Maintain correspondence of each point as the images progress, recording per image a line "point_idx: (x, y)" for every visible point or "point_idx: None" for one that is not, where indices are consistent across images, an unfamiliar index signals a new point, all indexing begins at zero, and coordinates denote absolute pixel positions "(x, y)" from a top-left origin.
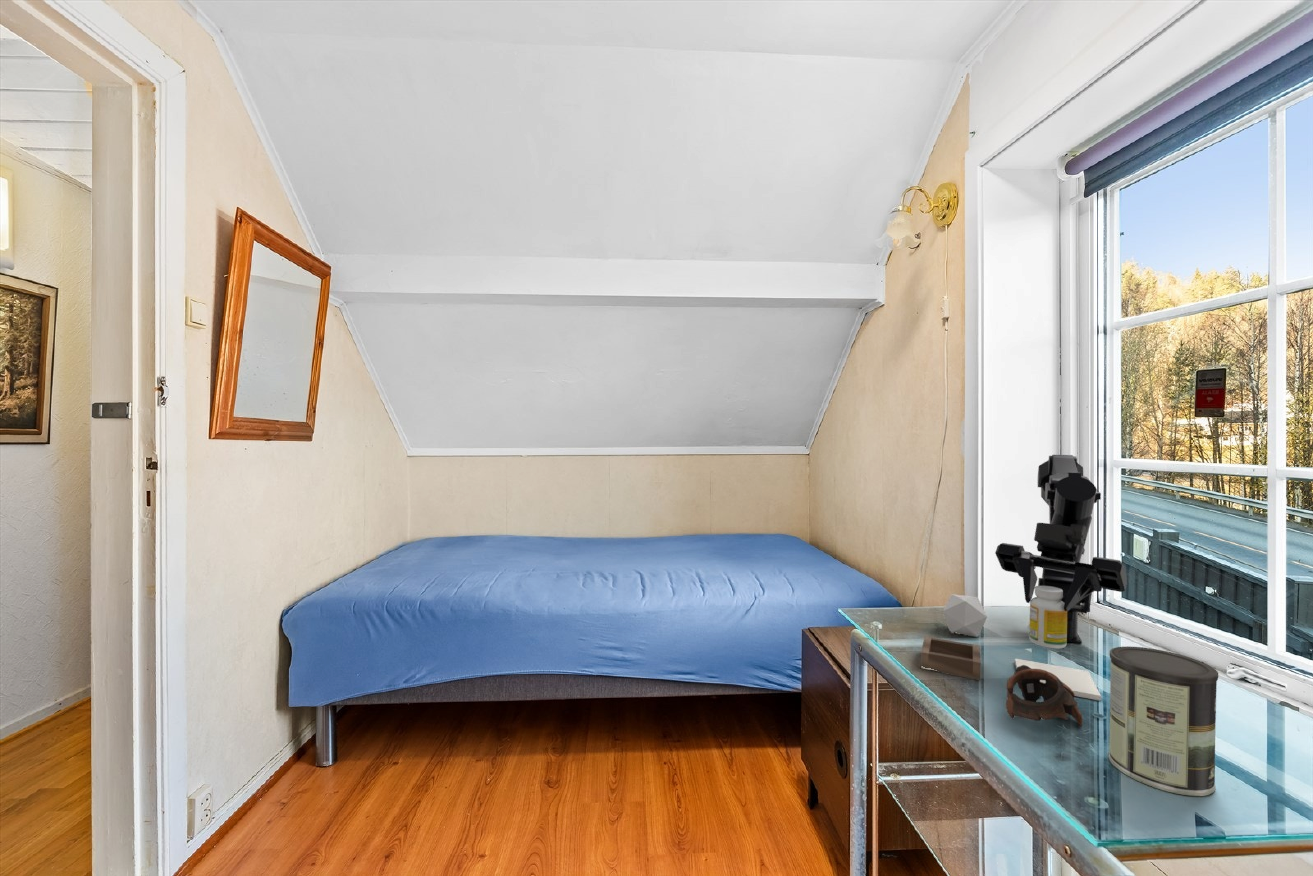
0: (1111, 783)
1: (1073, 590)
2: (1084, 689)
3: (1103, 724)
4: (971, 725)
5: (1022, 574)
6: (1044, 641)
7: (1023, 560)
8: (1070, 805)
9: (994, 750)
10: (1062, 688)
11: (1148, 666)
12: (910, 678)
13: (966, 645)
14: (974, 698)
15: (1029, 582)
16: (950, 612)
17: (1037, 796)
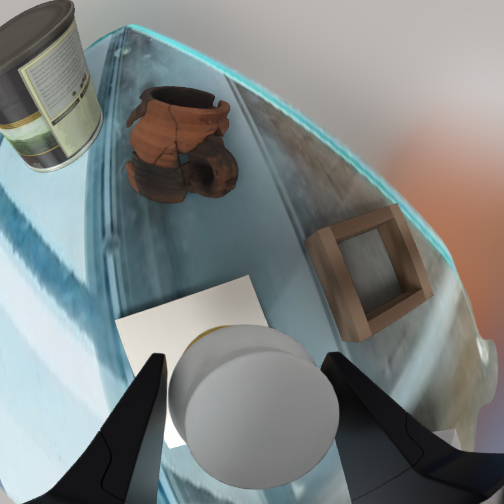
0: (106, 79)
1: (116, 433)
2: (143, 331)
3: (104, 212)
4: (245, 88)
5: (436, 437)
6: (224, 325)
7: (501, 468)
8: (140, 38)
9: (207, 61)
10: (144, 94)
11: (40, 11)
12: (366, 167)
13: (376, 316)
14: (277, 159)
15: (380, 418)
16: (445, 434)
17: (162, 34)
